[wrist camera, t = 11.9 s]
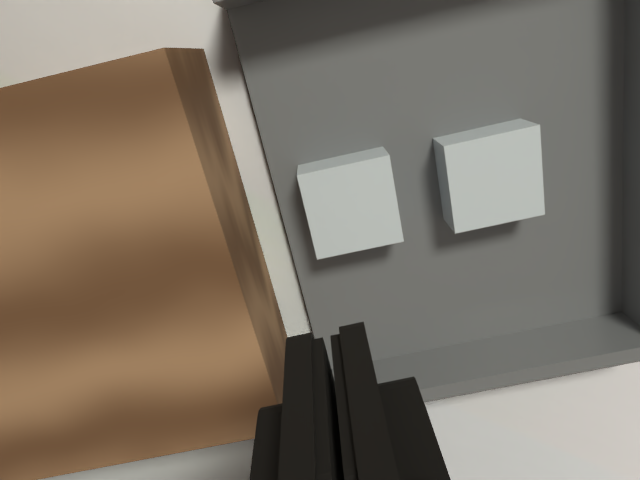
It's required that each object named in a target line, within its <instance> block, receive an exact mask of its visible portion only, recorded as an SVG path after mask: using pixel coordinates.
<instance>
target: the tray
mask: <svg viewBox="0 0 640 480" xmlns="http://www.w3.org/2000/svg"><path fill="white" fill-rule="evenodd" d="M212 1H213V3H214V4H216V5H218V6H220V7H222V8H224V9H226V10H227V12H228V16H229V19H230V23H231V27H232V31H233V34H234V38H235V42H236V46H237V49H238V53H239V57H240V61H241V64H242V68H243V72H244V76H245V79H246V83H247V87H248V91H249V94H250V98H251V102H252V106H253V109H254V113H255V117H256V121H257V124H258V128H259V132H260V136H261V139H262V143H263V147H264V151H265V154H266V158H267V162H268V166H269V169H270V173H271V177H272V181H273V184H274V188H275V192H276V196H277V199H278V203H279V207H280V211H281V214H282V218H283V222H284V226H285V229H286V233H287V237H288V241H289V244H290V248H291V252H292V256H293V259H294V263H295V267H296V271H297V274H298V278H299V282H300V286H301V289H302V293H303V297H304V301H305V304H306V308H307V312H308V316H309V319H310V323H311V327H312V331H313V334H314V338H315V339H316V338H321V337H323V339H324V343H325V346H326V350H327V354H328V358H329V362H330V366H331V369H332V373H333V377H334V370H333V360H332V349H331V339H330V336H331V335H335V334H340V333H339V327H340V326H345V325H349V324H354V323H359V322H364V325H365V330H366V334H367V339H368V343H369V348H370V352H371V356H372V361H373V365H374V370H375V374H376V379H377V383H378V384H379V383H384V382H389V381H394V380H399V379H404V378H409V377H413V376H414V377H415V379H416V381H417V384H418V387H419V390H420V393H421V395H422V398H423V401H424V402H428V401H433V400H439V399H444V398H449V397H454V396H460V395H465V394H470V393H476V392H481V391H486V390H491V389H497V388H502V387H507V386H512V385H518V384H523V383H528V382H533V381H539V380H544V379H549V378H554V377H560V376H565V375H570V374H576V373H581V372H586V371H591V370H597V369H602V368H607V367H612V366H618V365H623V364H628V363H633V362H639V361H640V0H212ZM520 118H521V119H524V120H527V121H530V122H533V123H536V124H539V125H540V133H541V151H542V169H543V187H544V205H545V215H541V216H536V217H531V218H526V219H522V220H517V221H512V222H508V223H503V224H498V225H494V226H489V227H484V228H479V229H475V230H470V231H465V232H461V233H456V234H455V233H454V232H453V230H452V229H451V228H450V227H449V225H448V224H447V223H446V221H445V220H444V218H443V210H442V203H441V196H440V189H439V181H438V174H437V167H436V160H435V152H434V145H433V138H436V137H441V136H445V135H449V134H454V133H458V132H463V131H467V130H472V129H476V128H480V127H485V126H489V125H494V124H498V123H503V122H507V121H511V120H516V119H520ZM382 146H383V147H384V148H385V150H386V151H387V152H388V154H389V155H390V161H391V167H392V173H393V179H394V185H395V191H396V197H397V203H398V209H399V215H400V221H401V227H402V233H403V239H404V242H399V243H395V244H390V245H385V246H380V247H375V248H370V249H366V250H361V251H356V252H351V253H346V254H342V255H337V256H332V257H327V258H322V259H318V260H317V257H316V253H315V249H314V245H313V241H312V237H311V232H310V228H309V224H308V220H307V216H306V212H305V208H304V204H303V199H302V195H301V191H300V187H299V183H298V179H297V169H298V165H301V164H305V163H310V162H314V161H319V160H323V159H328V158H333V157H337V156H342V155H346V154H351V153H355V152H360V151H364V150H369V149H373V148H378V147H382ZM334 381H335V380H334Z"/></svg>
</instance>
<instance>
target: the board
mask: <svg viewBox="0 0 640 480" xmlns="http://www.w3.org/2000/svg"><path fill="white" fill-rule="evenodd" d="M286 338H287V334H286V331H285V328H284V324H283V321H282V317H281V314H280V310H279V307H278V303H277V300H276V297H275V293H274V290H273V286H272V283H271V279H270V276H269V272H268V269H267V266H266V262H265V259H264V255H263V252H262V248H261V245H260V242H259V238H258V235H257V231H256V228H255V224H254V221H253V217H252V214H251V211H250V207H249V204H248V200H247V197H246V193H245V190H244V187H243V183H242V180H241V176H240V173H239V169H238V166H237V162H236V159H235V156H234V152H233V149H232V145H231V142H230V138H229V135H228V132H227V128H226V125H225V121H224V118H223V114H222V111H221V107H220V104H219V101H218V97H217V94H216V90H215V87H214V83H213V80H212V76H211V73H210V70H209V66H208V63H207V59H206V56H205V52H204V49H192V48H161V49H157V50H153V51H149V52H145V53H141V54H137V55H133V56H129V57H125V58H120V59H116V60H112V61H108V62H104V63H100V64H96V65H92V66H88V67H84V68H80V69H76V70H72V71H68V72H64V73H60V74H55V75H51V76H47V77H43V78H39V79H35V80H31V81H27V82H23V83H19V84H15V85H11V86H7V87H3V88H0V480H37V479H43V478H48V477H53V476H59V475H64V474H69V473H74V472H80V471H85V470H90V469H96V468H101V467H106V466H111V465H117V464H122V463H127V462H133V461H138V460H143V459H148V458H154V457H159V456H164V455H169V454H175V453H180V452H185V451H191V450H196V449H201V448H206V447H212V446H217V445H222V444H228V443H233V442H238V441H243V440H249V439H254V438H255V432H256V424H257V416H258V411H259V409H260V408H262V407H267V406H272V405H276V404H281V403H282V399H283V381H284V363H285V345H286Z"/></svg>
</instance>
